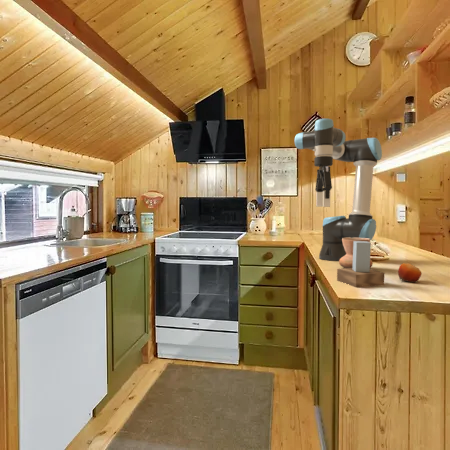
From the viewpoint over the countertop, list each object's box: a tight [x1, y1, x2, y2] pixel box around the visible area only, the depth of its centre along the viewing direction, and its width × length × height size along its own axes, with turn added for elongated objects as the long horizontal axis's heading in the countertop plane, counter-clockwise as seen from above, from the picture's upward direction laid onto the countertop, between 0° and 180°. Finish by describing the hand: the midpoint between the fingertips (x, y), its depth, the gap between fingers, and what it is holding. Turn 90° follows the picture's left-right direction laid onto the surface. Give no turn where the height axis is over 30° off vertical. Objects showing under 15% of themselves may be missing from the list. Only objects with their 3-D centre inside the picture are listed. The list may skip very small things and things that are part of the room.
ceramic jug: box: [338, 237, 374, 269], centre depth 164 cm, size 18×14×14 cm
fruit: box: [397, 262, 422, 283], centre depth 139 cm, size 8×8×8 cm
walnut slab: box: [336, 267, 385, 288], centre depth 137 cm, size 12×12×5 cm
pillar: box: [352, 241, 372, 272], centre depth 136 cm, size 5×5×11 cm
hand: (322, 206), depth 154 cm, fingers open, 13 cm apart
